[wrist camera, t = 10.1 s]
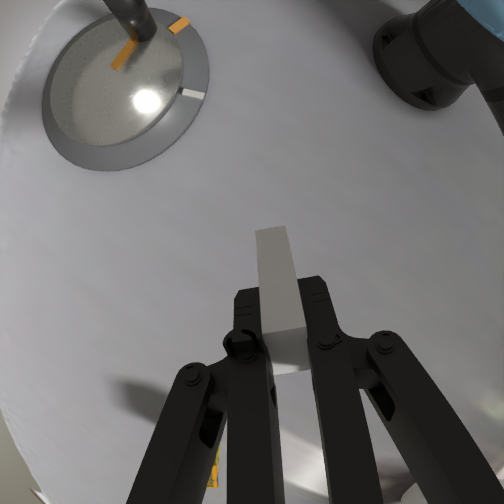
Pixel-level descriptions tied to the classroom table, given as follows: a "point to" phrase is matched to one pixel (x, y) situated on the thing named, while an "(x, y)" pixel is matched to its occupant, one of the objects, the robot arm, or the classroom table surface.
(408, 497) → the white faceted lump
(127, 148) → the base plate
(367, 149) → the classroom table surface
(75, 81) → the dial
